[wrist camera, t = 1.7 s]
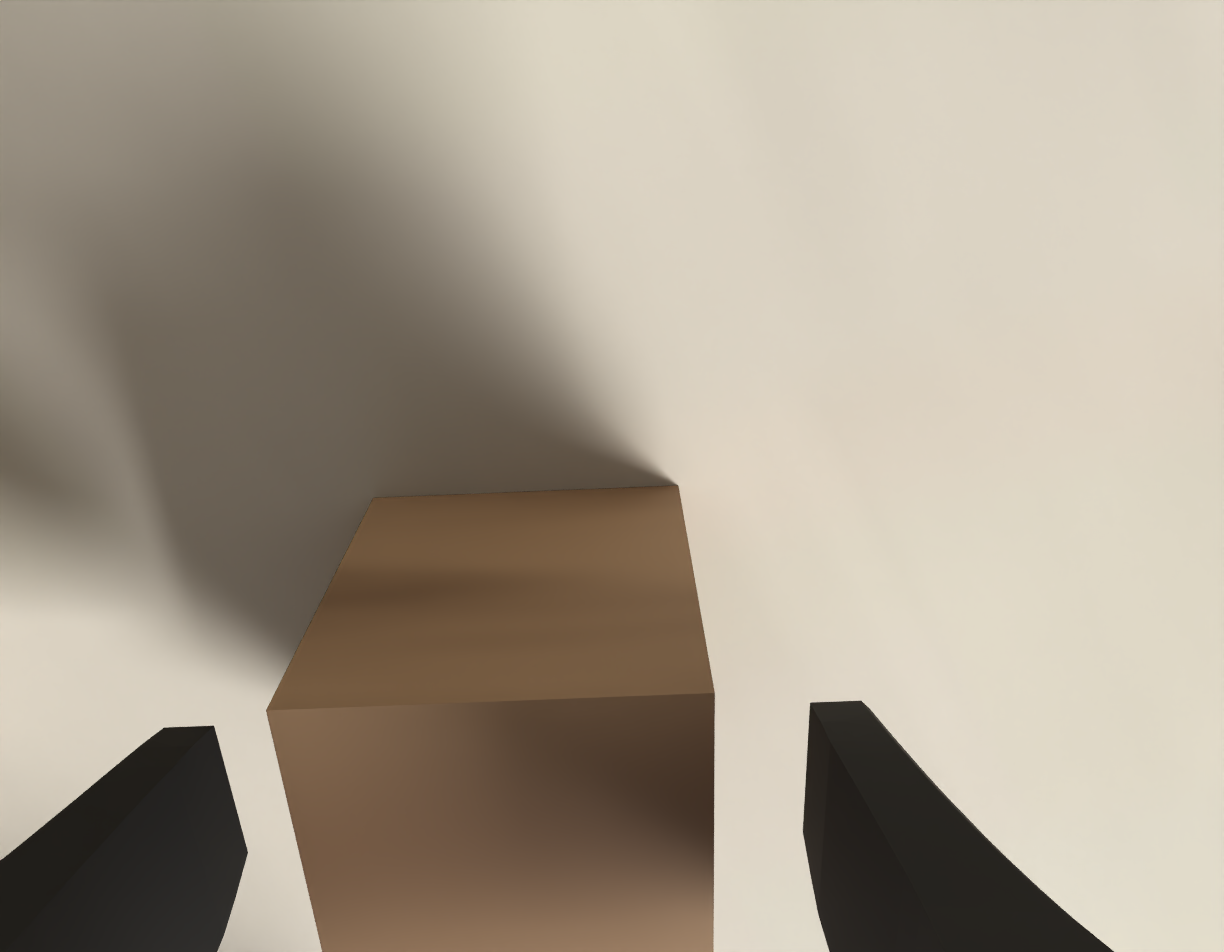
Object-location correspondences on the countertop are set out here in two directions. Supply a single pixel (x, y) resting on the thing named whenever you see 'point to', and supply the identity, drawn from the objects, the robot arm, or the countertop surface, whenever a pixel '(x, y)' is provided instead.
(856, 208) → the countertop surface
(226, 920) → the robot arm
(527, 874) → the walnut cube
